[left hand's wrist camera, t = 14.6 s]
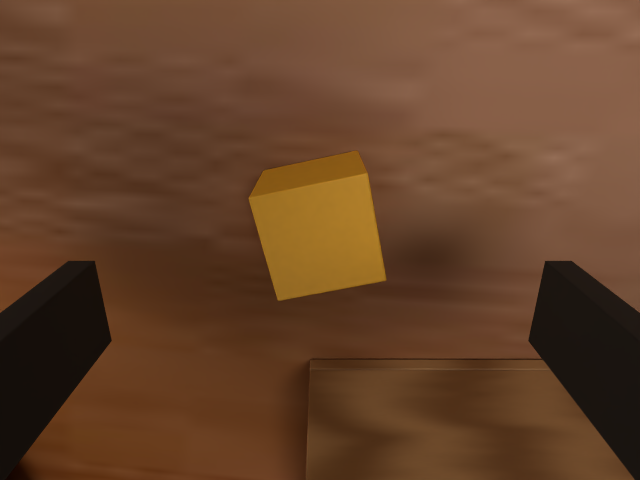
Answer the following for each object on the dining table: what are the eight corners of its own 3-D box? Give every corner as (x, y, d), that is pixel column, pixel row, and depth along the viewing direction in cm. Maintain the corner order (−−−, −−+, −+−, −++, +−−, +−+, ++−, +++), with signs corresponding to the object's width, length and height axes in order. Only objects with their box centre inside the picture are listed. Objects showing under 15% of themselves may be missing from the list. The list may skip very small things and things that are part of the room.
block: (286, 256, 22) (277, 301, 18) (262, 170, 20) (247, 197, 16) (373, 239, 22) (386, 281, 17) (357, 149, 20) (367, 172, 16)
